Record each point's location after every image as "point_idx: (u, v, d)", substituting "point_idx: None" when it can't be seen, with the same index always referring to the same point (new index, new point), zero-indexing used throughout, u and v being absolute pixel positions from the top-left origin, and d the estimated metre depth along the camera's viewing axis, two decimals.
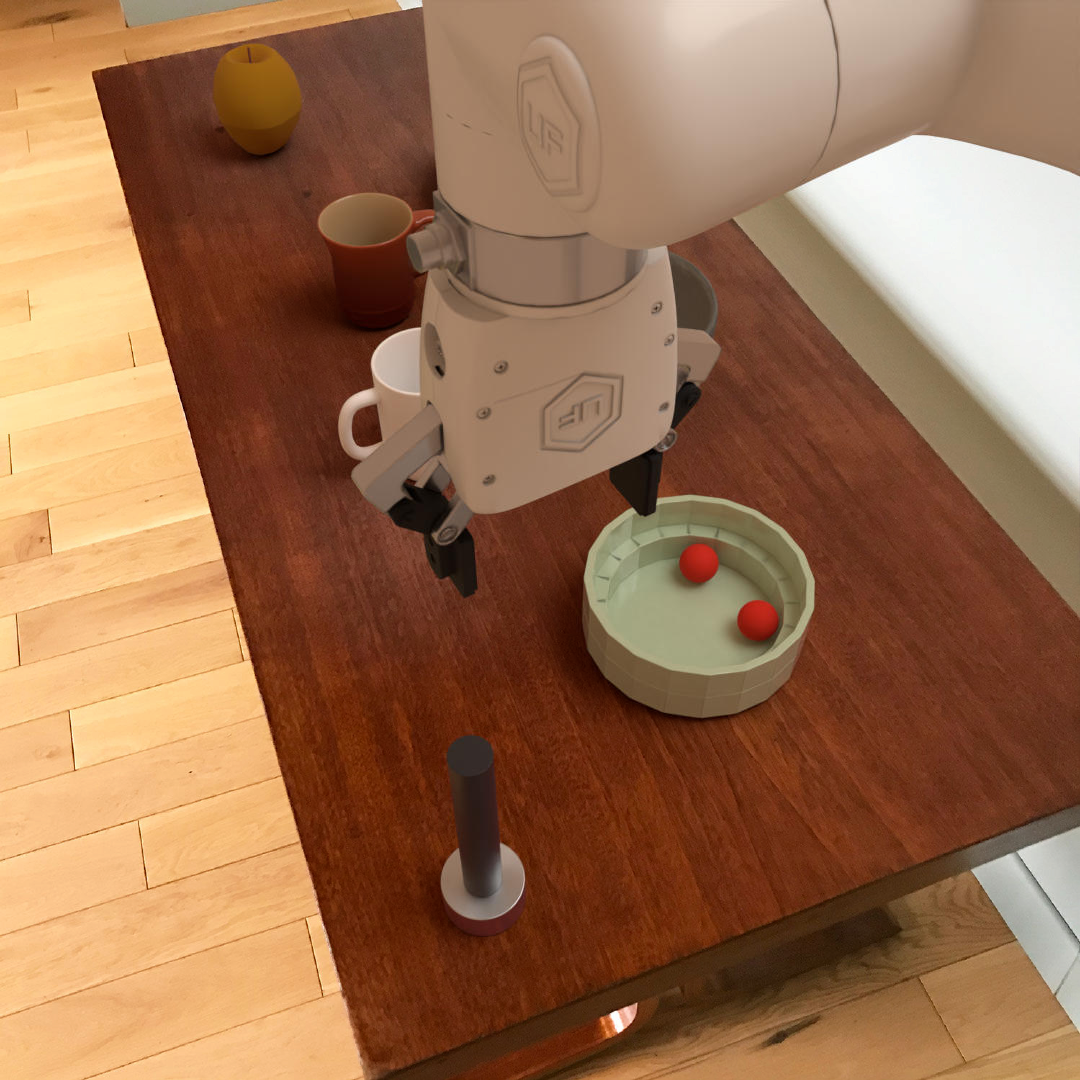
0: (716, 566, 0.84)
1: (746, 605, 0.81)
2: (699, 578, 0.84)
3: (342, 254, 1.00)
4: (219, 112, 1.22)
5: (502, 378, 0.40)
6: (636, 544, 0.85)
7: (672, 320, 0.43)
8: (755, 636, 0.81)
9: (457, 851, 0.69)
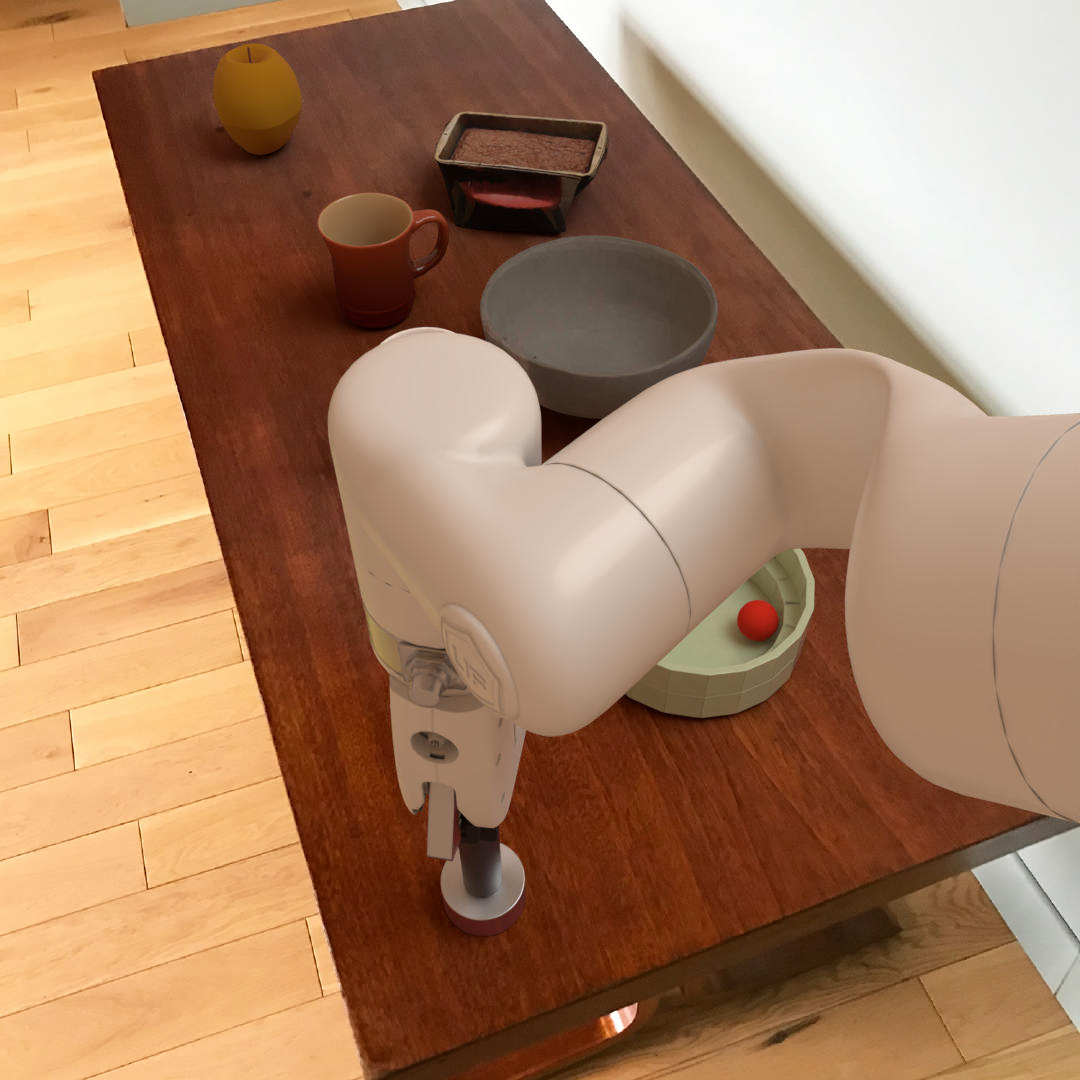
0: None
1: (746, 605, 0.81)
2: None
3: (342, 254, 1.00)
4: (219, 112, 1.22)
5: (501, 727, 0.48)
6: None
7: None
8: (755, 636, 0.81)
9: (457, 851, 0.69)
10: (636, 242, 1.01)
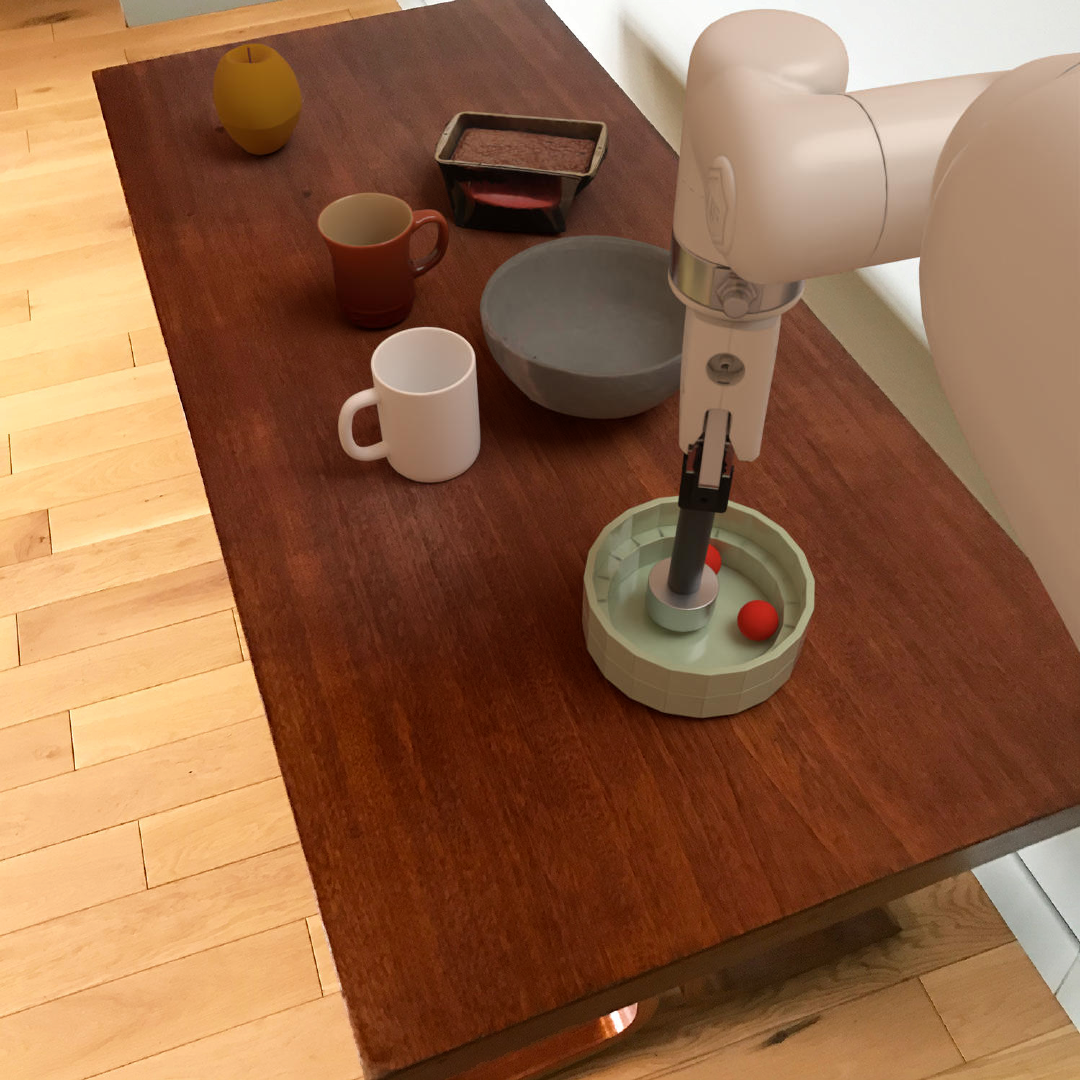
0: (719, 564, 0.84)
1: (746, 605, 0.81)
2: None
3: (342, 254, 1.00)
4: (219, 112, 1.22)
5: (774, 357, 0.61)
6: (636, 544, 0.85)
7: None
8: (755, 636, 0.81)
9: (658, 564, 0.83)
10: (636, 242, 1.01)
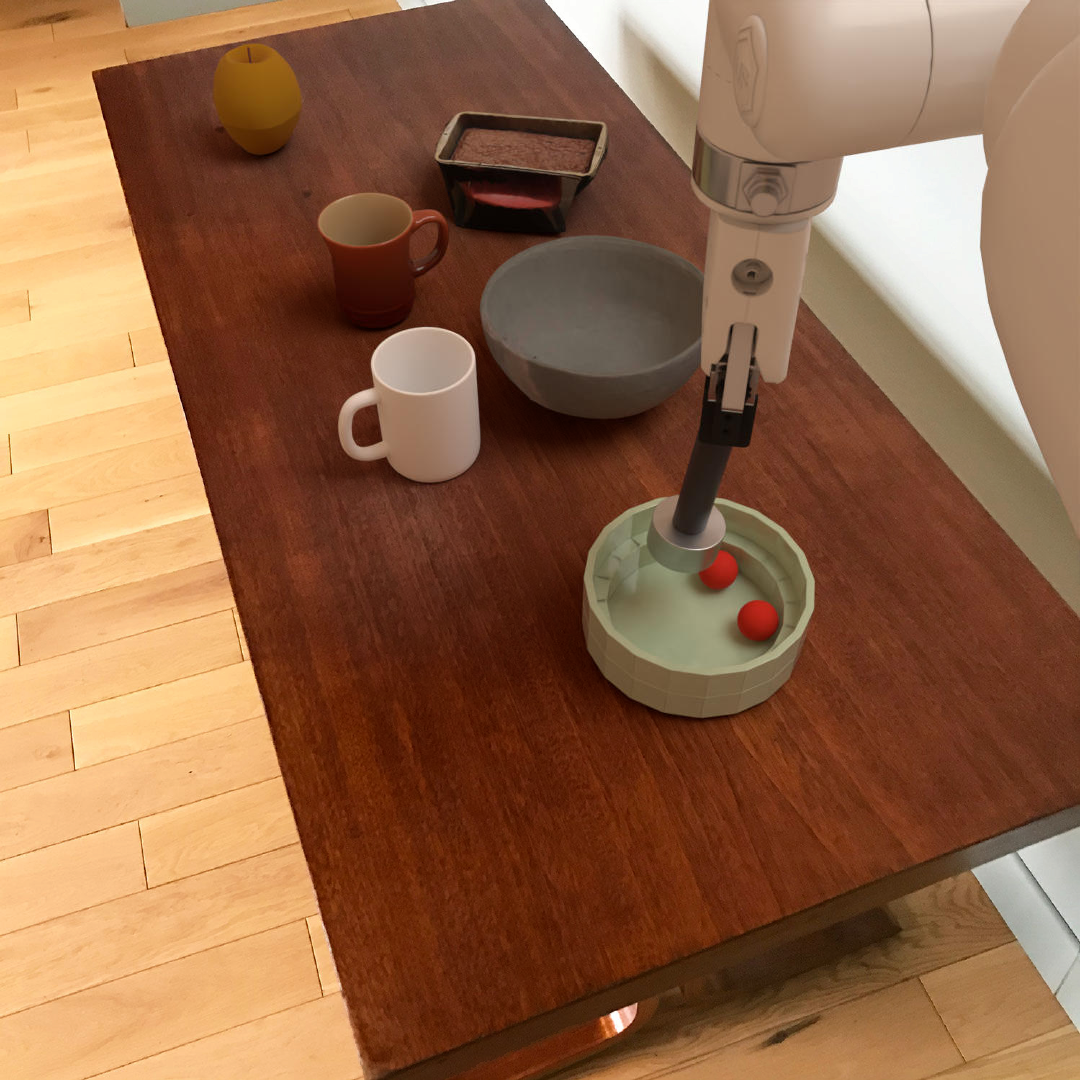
0: None
1: (746, 605, 0.81)
2: (721, 586, 0.84)
3: (342, 254, 1.00)
4: (219, 112, 1.22)
5: (804, 266, 0.57)
6: (636, 544, 0.85)
7: None
8: (755, 636, 0.81)
9: (659, 505, 0.79)
10: (636, 242, 1.01)
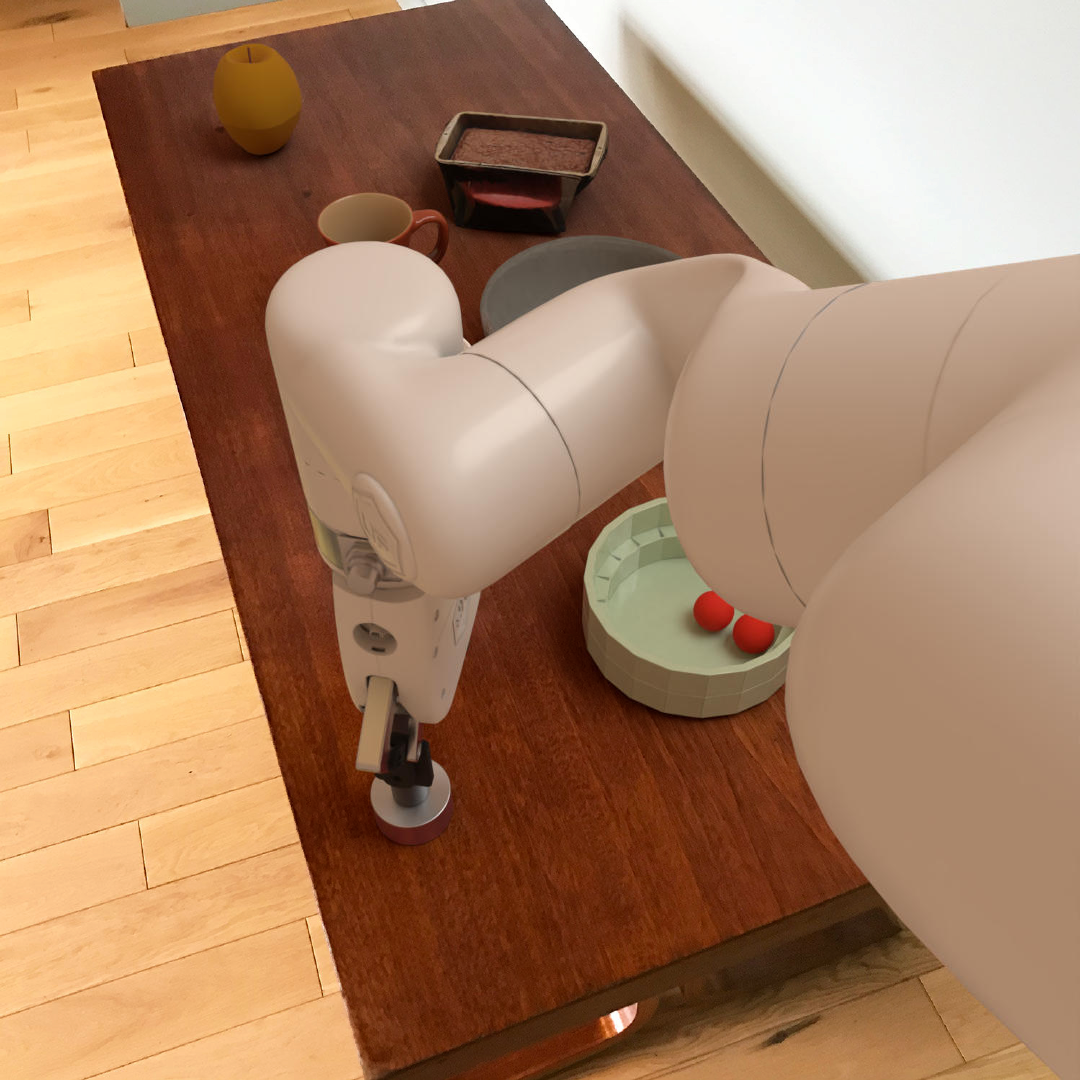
0: None
1: (738, 627, 0.80)
2: None
3: None
4: (219, 112, 1.22)
5: (438, 621, 0.51)
6: (636, 544, 0.85)
7: None
8: None
9: None
10: (636, 242, 1.01)
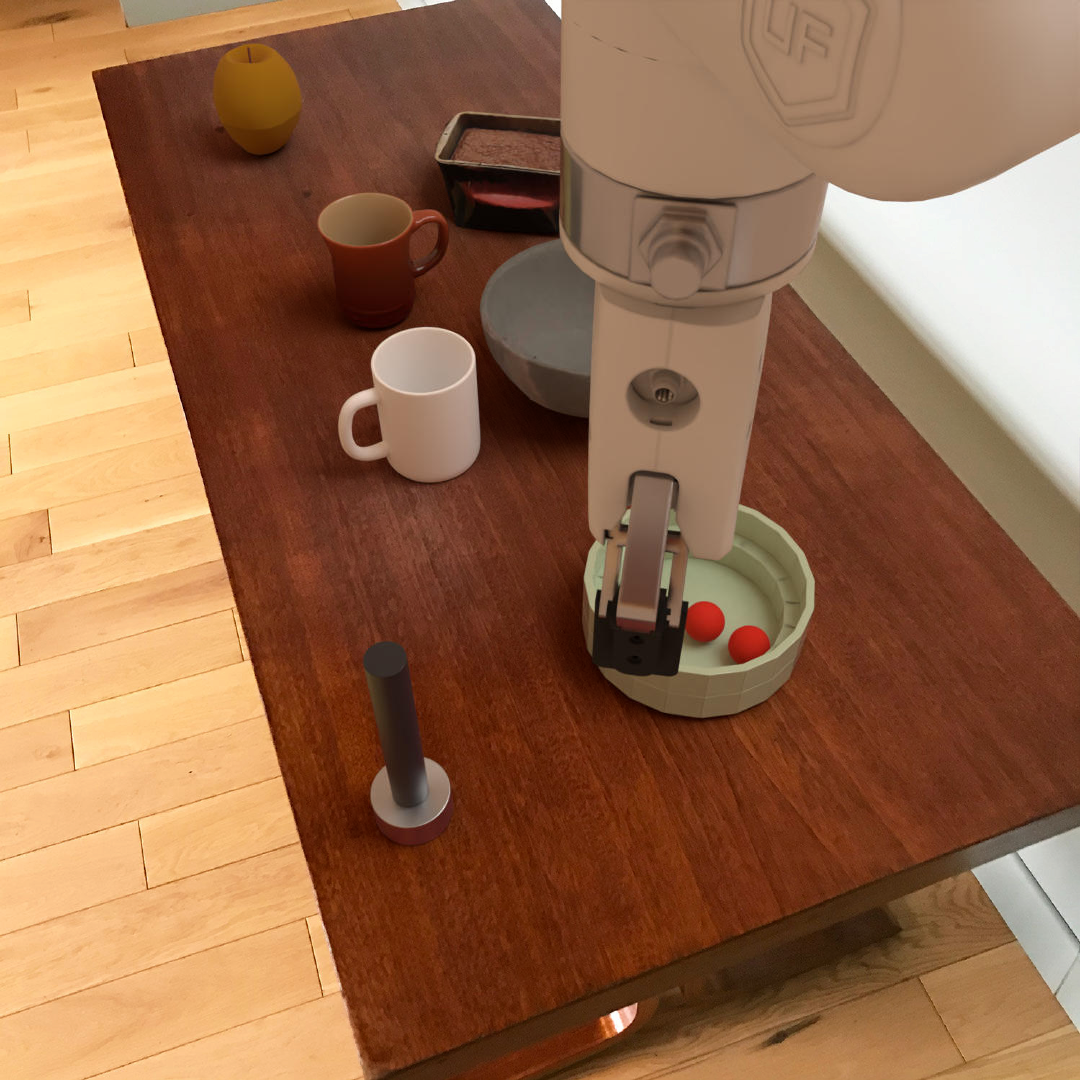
0: (713, 613, 0.80)
1: (731, 651, 0.80)
2: None
3: (342, 254, 1.00)
4: (219, 112, 1.22)
5: (758, 376, 0.32)
6: None
7: None
8: None
9: (381, 772, 0.73)
10: None
